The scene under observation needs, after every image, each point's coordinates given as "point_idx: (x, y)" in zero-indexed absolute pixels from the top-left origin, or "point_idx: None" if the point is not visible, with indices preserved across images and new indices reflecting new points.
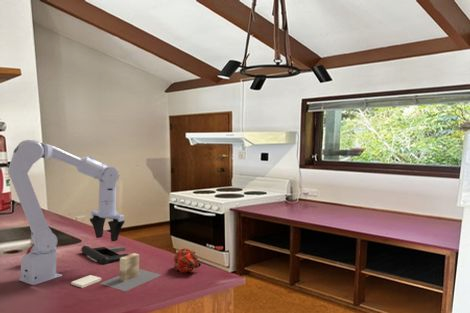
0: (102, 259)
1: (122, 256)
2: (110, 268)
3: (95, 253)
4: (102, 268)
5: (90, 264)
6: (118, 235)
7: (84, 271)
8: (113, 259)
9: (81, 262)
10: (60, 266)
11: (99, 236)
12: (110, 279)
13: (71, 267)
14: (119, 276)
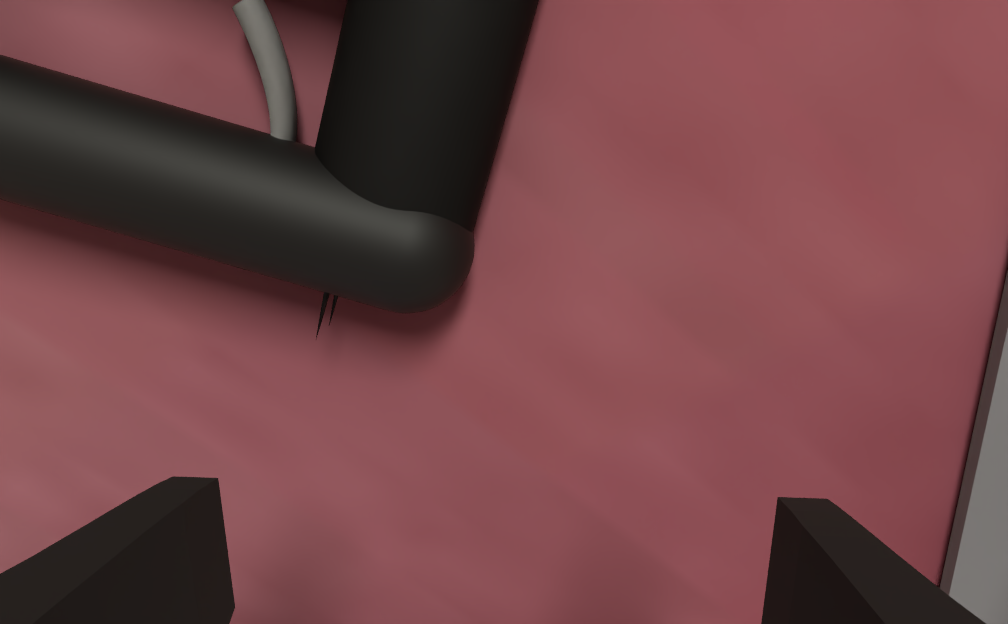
0: (404, 311)
1: None
2: (620, 308)
3: (86, 209)
4: (525, 364)
5: (256, 343)
6: (909, 569)
7: (428, 543)
8: (488, 149)
9: (88, 353)
10: None
11: (215, 575)
12: None
13: None
14: (999, 500)
